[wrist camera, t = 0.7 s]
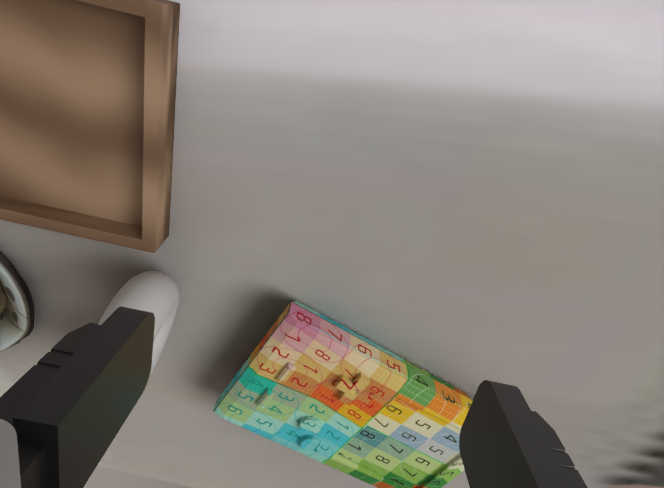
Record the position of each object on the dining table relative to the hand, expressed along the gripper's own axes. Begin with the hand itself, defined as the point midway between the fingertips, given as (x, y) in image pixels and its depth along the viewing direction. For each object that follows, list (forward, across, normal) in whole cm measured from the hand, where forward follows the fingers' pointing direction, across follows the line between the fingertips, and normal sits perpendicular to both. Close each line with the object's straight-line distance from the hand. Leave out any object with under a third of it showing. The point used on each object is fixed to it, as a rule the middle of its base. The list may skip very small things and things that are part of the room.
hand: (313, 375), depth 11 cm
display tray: (+19, +18, -1) cm, 26 cm away
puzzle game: (+22, -6, +17) cm, 28 cm away
